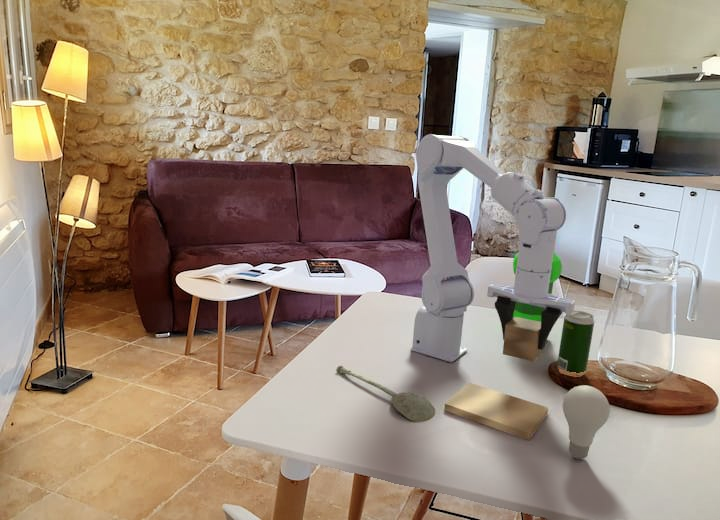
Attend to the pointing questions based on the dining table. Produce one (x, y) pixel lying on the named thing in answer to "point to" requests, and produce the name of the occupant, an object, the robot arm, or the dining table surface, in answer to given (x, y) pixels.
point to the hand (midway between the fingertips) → (523, 343)
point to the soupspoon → (402, 400)
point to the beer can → (575, 341)
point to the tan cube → (522, 339)
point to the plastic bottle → (535, 311)
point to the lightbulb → (584, 417)
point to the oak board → (497, 410)
